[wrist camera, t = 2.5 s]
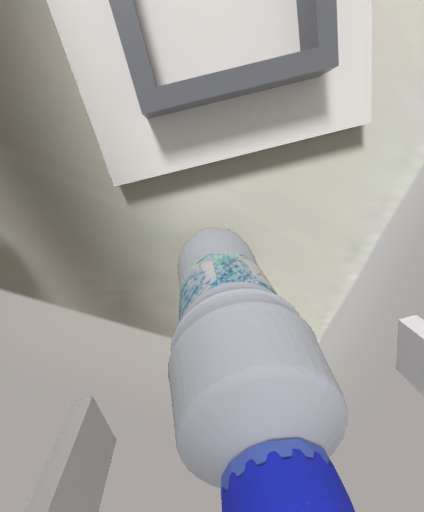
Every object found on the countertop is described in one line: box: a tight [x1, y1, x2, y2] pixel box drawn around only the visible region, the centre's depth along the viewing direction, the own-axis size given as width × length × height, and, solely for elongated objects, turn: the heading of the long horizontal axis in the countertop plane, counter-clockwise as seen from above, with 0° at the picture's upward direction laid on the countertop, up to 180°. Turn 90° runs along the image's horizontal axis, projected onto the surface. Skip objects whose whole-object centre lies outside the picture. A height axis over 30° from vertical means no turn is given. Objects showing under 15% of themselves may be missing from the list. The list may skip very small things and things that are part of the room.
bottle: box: [168, 228, 355, 512], centre depth 15 cm, size 7×7×20 cm
